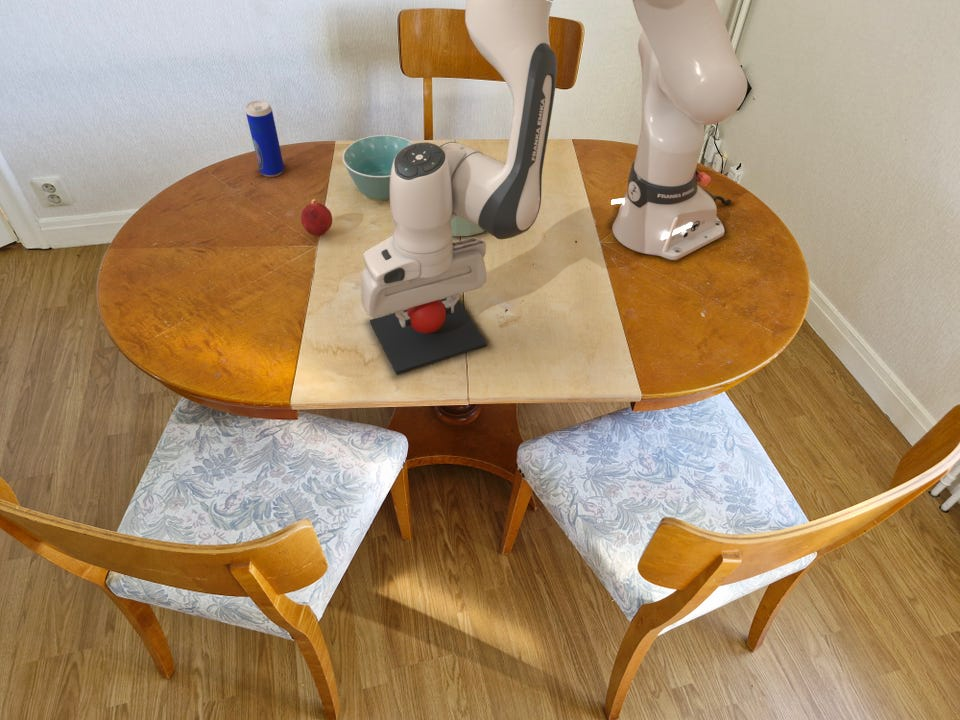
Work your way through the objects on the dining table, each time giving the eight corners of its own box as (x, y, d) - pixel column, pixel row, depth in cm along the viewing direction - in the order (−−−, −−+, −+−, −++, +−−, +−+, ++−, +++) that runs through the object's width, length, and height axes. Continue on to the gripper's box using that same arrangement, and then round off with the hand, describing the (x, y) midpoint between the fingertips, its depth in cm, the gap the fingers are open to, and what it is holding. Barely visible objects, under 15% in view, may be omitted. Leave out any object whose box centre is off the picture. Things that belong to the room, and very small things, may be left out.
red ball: (437, 310, 119) (436, 282, 114) (452, 334, 115) (451, 306, 110) (402, 321, 117) (400, 292, 112) (416, 346, 113) (414, 317, 108)
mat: (455, 298, 123) (455, 295, 123) (486, 346, 115) (487, 342, 115) (370, 323, 118) (369, 319, 118) (396, 375, 110) (396, 371, 110)
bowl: (412, 215, 140) (410, 179, 134) (337, 206, 141) (332, 171, 135) (428, 173, 151) (427, 138, 145) (358, 165, 152) (354, 131, 146)
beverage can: (259, 166, 151) (243, 101, 140) (283, 163, 152) (269, 98, 141) (261, 179, 147) (245, 113, 136) (285, 176, 149) (272, 110, 138)
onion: (328, 246, 132) (322, 211, 127) (300, 241, 133) (292, 207, 127) (338, 228, 136) (333, 193, 130) (310, 224, 137) (304, 189, 131)
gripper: (477, 223, 109) (475, 289, 119) (352, 255, 103) (362, 322, 113) (494, 246, 105) (491, 312, 115) (366, 280, 99) (374, 347, 109)
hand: (426, 317), depth 114 cm, fingers closed on red ball, 6 cm apart
